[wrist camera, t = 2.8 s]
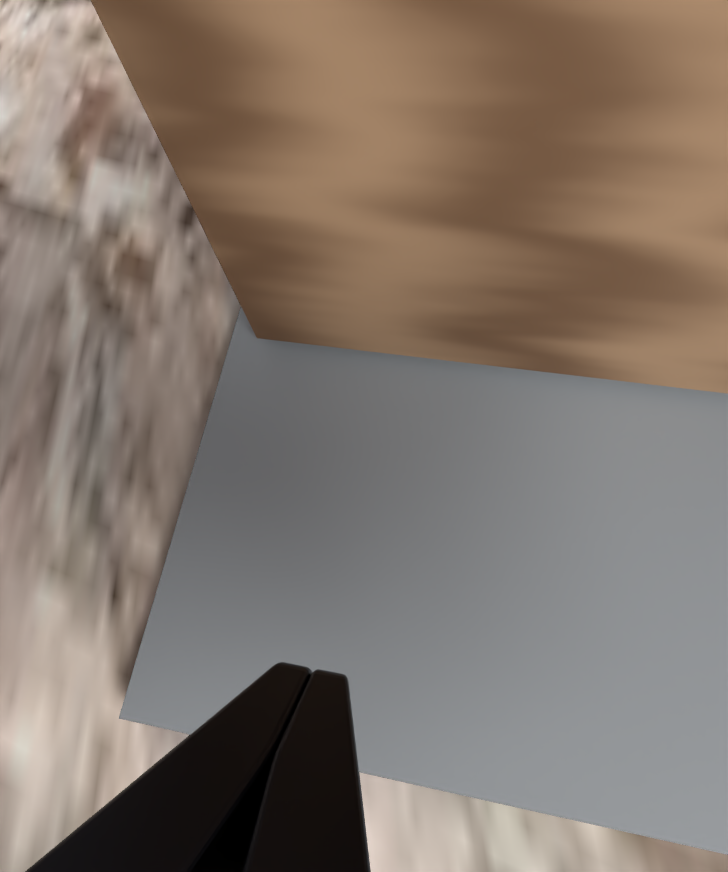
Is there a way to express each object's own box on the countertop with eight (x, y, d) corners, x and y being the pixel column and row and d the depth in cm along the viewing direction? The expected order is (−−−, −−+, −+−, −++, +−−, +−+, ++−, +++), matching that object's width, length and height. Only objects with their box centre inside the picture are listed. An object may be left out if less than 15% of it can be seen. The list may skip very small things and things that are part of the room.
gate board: (135, 717, 18) (119, 718, 17) (285, 196, 24) (279, 176, 23) (1281, 973, 14) (1342, 992, 13) (1100, 262, 20) (1133, 240, 19)
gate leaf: (778, 350, 18) (1390, -278, 7) (780, 401, 18) (1456, -187, 6) (268, 295, 21) (50, -235, 9) (256, 339, 20) (7, -165, 8)
